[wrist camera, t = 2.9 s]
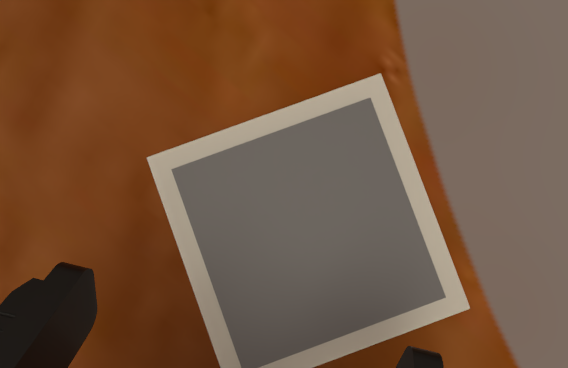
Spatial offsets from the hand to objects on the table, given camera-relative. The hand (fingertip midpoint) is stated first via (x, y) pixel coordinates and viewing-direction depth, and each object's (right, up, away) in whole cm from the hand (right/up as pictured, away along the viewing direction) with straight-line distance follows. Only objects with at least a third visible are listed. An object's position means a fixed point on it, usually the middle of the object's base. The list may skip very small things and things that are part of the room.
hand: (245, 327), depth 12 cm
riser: (+2, +1, +15) cm, 15 cm away
